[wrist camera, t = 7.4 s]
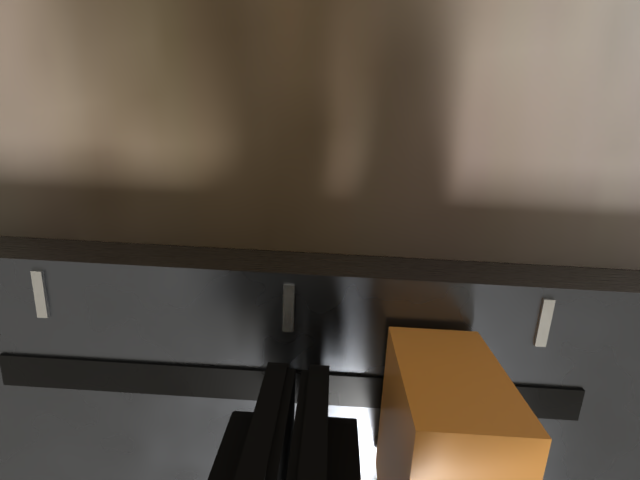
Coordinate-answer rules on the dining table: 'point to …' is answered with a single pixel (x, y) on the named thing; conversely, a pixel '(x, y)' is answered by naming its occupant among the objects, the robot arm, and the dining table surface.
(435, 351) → the orange fader
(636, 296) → the console
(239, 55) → the dining table surface
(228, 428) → the robot arm
